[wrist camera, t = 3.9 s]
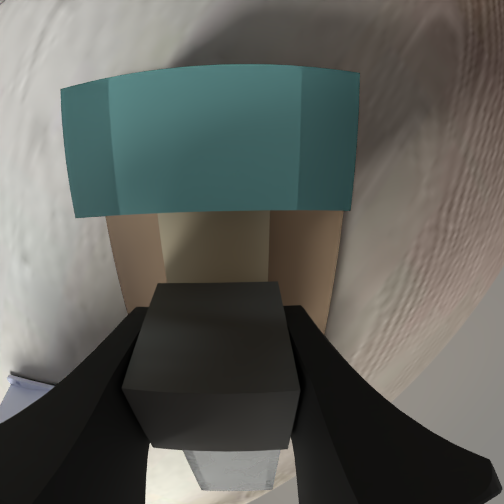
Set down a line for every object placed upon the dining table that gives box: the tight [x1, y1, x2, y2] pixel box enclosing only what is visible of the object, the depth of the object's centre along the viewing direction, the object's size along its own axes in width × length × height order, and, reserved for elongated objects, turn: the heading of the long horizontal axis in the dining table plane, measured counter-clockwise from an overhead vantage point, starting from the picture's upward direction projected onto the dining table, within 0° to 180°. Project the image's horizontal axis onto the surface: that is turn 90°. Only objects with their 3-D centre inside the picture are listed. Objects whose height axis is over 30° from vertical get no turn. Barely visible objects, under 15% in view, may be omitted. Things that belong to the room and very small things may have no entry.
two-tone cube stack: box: [122, 210, 300, 452], centre depth 11 cm, size 4×14×7 cm, turn 0°
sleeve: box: [183, 450, 280, 491], centre depth 16 cm, size 5×8×5 cm, turn 0°
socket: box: [61, 64, 360, 218], centre depth 8 cm, size 6×3×6 cm, turn 90°
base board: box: [106, 210, 343, 334], centre depth 16 cm, size 10×23×1 cm, turn 0°
